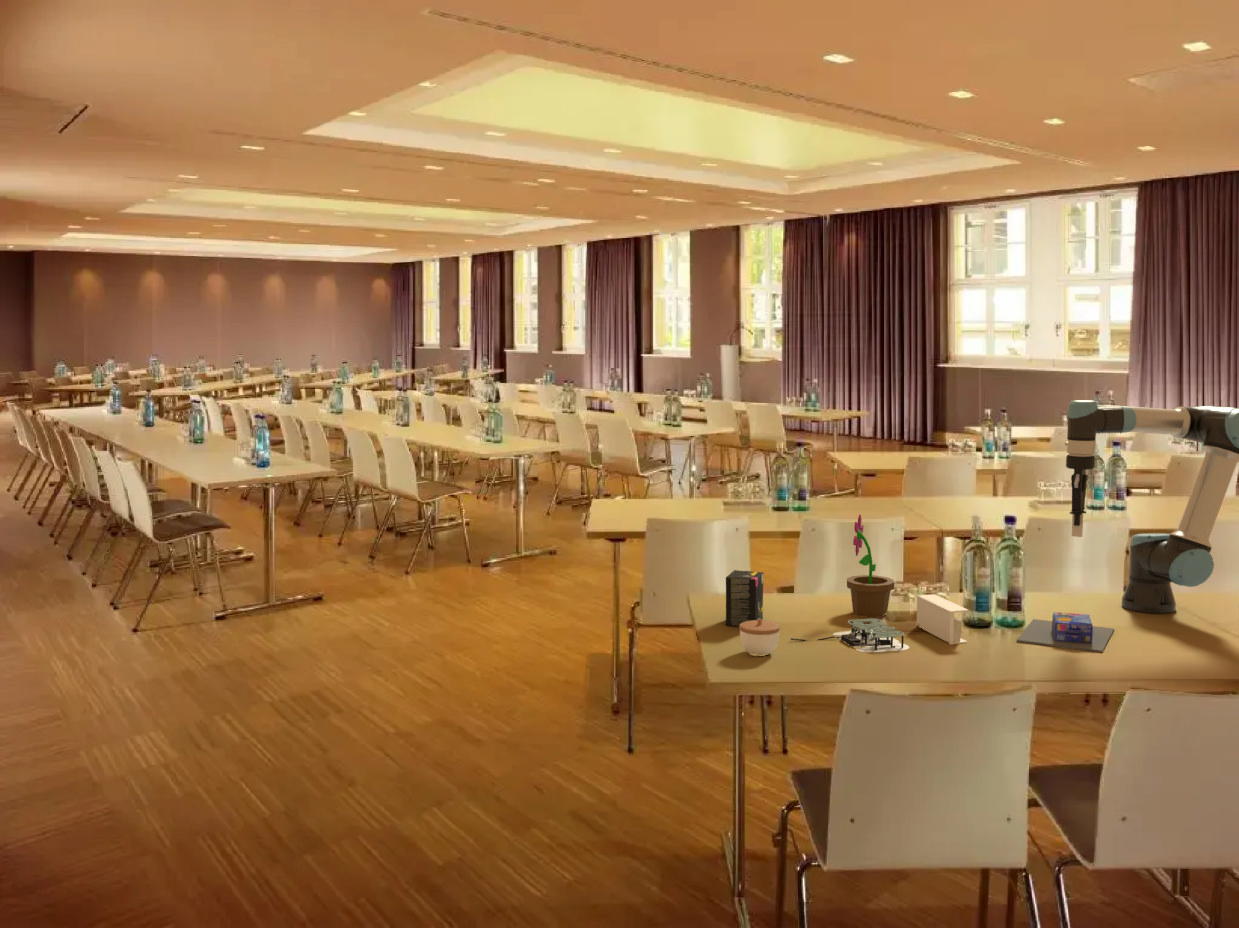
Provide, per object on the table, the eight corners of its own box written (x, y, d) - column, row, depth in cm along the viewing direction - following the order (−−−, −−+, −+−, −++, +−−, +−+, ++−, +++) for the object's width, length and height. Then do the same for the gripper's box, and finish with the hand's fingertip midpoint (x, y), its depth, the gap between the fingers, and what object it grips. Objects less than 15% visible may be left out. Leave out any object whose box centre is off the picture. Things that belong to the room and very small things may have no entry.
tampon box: (756, 628, 331) (756, 579, 329) (724, 626, 334) (725, 577, 332) (763, 619, 342) (764, 571, 340) (733, 616, 345) (733, 569, 343)
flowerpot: (851, 605, 357) (853, 510, 353) (898, 610, 351) (900, 513, 347) (840, 616, 344) (842, 518, 341) (888, 621, 338) (890, 521, 335)
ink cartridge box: (1089, 613, 322) (1094, 627, 309) (1089, 632, 323) (1093, 647, 309) (1052, 610, 325) (1055, 625, 312) (1051, 629, 326) (1054, 644, 312)
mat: (1033, 621, 338) (1033, 619, 338) (1113, 630, 327) (1114, 628, 327) (1016, 641, 316) (1016, 639, 316) (1102, 652, 305) (1102, 650, 305)
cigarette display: (967, 643, 315) (968, 610, 314) (949, 644, 314) (950, 611, 313) (931, 624, 335) (932, 593, 334) (914, 626, 333) (915, 594, 332)
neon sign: (783, 623, 323) (879, 616, 329) (783, 637, 323) (879, 630, 330) (812, 643, 302) (914, 635, 309) (812, 659, 303) (914, 651, 310)
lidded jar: (784, 658, 302) (785, 623, 301) (745, 660, 301) (745, 625, 299) (772, 646, 313) (773, 613, 312) (734, 648, 311) (734, 615, 310)
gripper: (1070, 451, 333) (1066, 531, 336) (1062, 456, 322) (1059, 538, 325) (1097, 453, 330) (1094, 533, 333) (1091, 457, 319) (1087, 541, 321)
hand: (1076, 536), depth 329 cm, fingers closed
